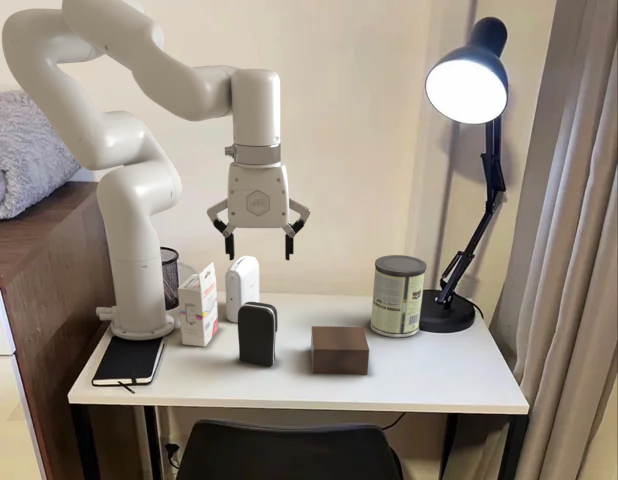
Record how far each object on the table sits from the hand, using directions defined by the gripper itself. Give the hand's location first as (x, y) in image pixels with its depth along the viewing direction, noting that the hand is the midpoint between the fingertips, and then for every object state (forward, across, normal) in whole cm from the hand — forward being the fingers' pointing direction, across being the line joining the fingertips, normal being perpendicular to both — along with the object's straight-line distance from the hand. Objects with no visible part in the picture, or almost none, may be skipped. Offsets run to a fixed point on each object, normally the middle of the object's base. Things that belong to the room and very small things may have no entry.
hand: (259, 258), depth 115 cm
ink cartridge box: (+20, -13, +10) cm, 25 cm away
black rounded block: (+20, -1, 0) cm, 20 cm away
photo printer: (+20, -4, +22) cm, 30 cm away
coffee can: (+20, +28, +15) cm, 37 cm away
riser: (+20, +14, -1) cm, 25 cm away
